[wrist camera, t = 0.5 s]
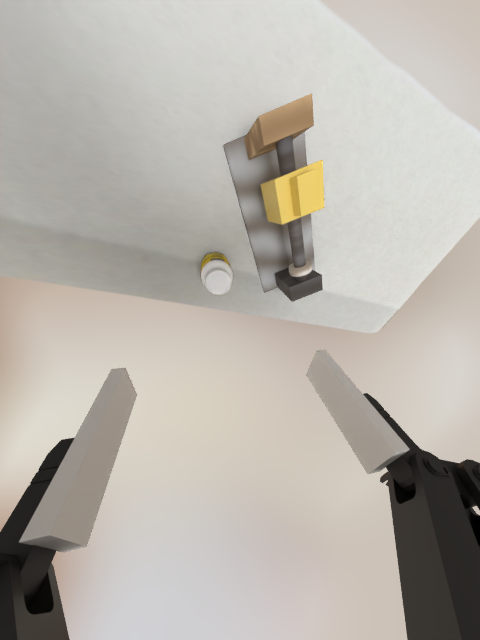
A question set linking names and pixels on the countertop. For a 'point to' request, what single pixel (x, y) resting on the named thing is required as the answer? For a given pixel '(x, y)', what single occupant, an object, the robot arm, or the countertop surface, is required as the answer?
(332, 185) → the countertop surface
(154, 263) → the countertop surface
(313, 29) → the countertop surface
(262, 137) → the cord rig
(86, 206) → the countertop surface
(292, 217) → the sleeve
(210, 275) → the supplement bottle
